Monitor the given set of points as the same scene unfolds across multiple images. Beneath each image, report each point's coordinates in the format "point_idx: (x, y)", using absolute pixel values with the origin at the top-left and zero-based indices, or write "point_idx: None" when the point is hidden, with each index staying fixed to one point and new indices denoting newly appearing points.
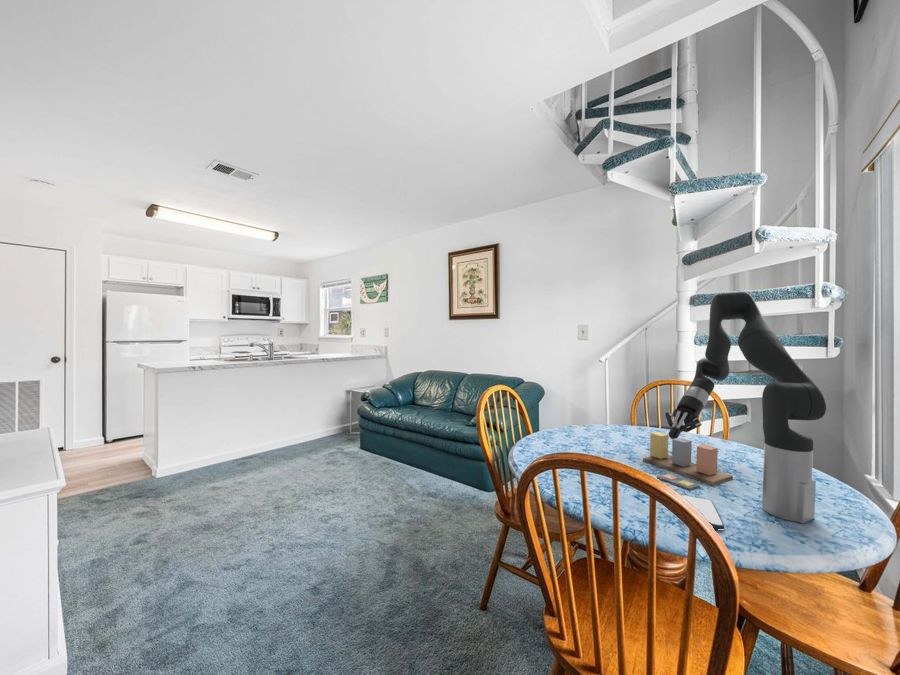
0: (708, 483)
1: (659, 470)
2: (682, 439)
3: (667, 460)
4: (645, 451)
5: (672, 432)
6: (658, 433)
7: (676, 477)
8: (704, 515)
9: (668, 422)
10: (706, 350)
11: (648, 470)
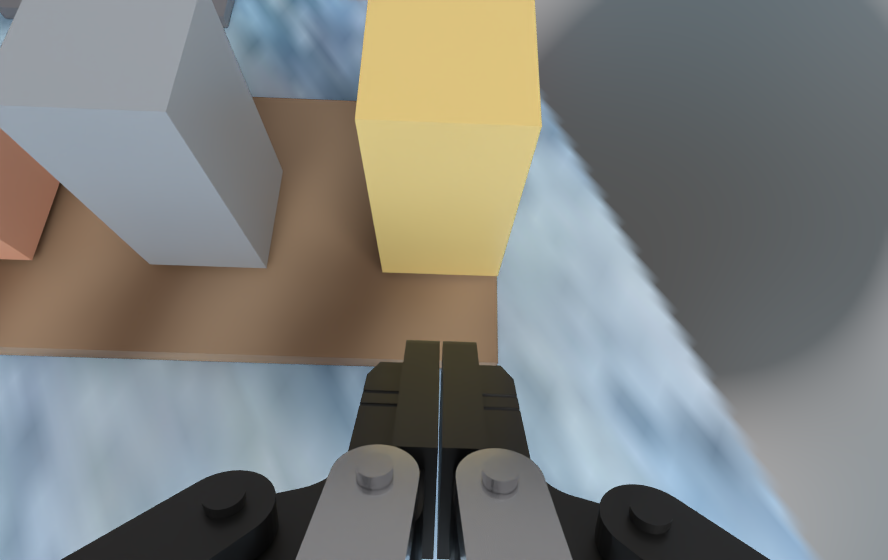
0: None
1: (304, 57)
2: (102, 67)
3: (347, 213)
4: (666, 352)
5: (442, 376)
6: (472, 61)
7: None
8: None
9: (702, 528)
10: None
11: (346, 6)
